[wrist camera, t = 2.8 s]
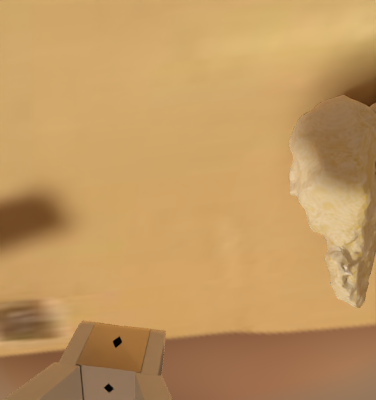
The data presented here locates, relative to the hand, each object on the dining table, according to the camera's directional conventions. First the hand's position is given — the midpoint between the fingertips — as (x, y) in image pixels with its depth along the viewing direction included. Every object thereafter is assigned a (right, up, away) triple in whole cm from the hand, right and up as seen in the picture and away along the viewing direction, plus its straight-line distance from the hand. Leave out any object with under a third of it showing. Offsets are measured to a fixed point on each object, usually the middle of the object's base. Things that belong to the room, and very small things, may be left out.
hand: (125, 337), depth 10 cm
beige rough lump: (+16, +7, +16) cm, 24 cm away
